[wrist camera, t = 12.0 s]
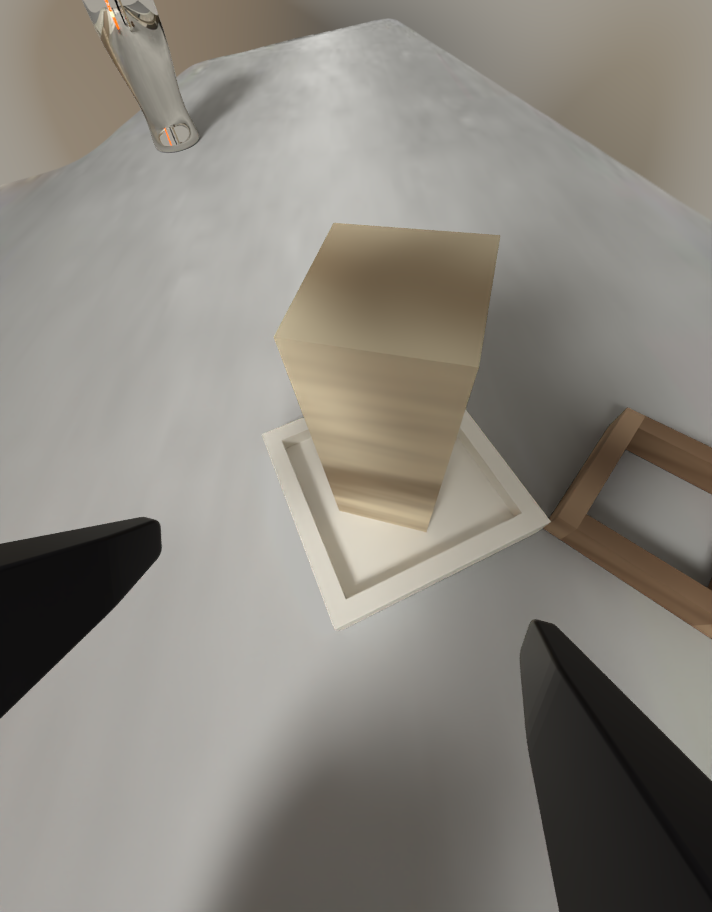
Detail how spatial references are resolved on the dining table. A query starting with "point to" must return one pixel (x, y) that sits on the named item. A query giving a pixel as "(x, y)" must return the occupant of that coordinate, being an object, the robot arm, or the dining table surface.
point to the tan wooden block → (388, 360)
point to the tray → (396, 547)
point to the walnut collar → (615, 552)
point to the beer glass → (145, 67)
